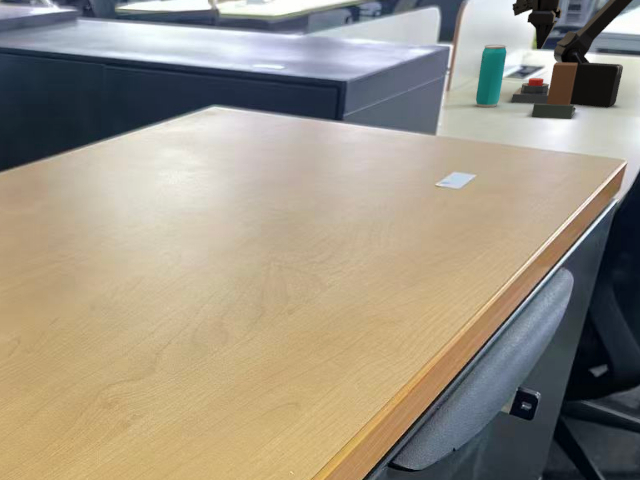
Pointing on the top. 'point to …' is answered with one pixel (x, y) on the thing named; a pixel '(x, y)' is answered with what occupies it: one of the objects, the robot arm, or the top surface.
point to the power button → (535, 81)
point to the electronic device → (596, 84)
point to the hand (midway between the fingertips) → (538, 48)
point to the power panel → (531, 94)
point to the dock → (553, 111)
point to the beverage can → (491, 75)
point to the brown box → (562, 83)
